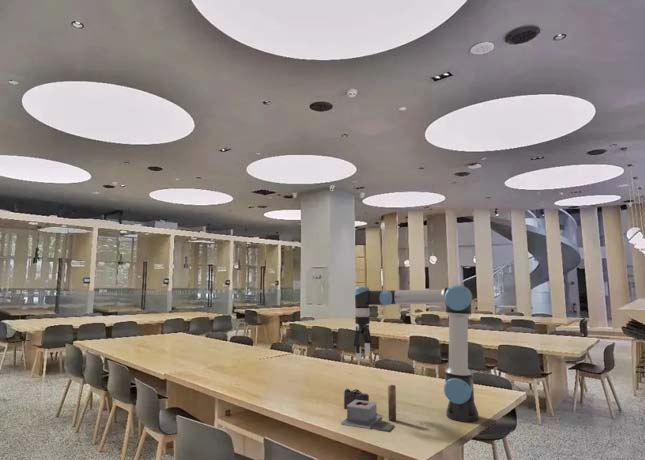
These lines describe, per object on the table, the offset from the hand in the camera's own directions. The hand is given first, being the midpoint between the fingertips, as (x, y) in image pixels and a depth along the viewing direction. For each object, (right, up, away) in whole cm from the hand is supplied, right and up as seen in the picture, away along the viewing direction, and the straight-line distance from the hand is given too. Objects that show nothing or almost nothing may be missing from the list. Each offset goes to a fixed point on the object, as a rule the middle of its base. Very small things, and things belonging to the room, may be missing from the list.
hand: (363, 357), depth 210 cm
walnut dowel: (+12, -25, -16) cm, 32 cm away
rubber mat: (+6, -23, -27) cm, 36 cm away
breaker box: (-2, -25, -17) cm, 30 cm away
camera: (-2, -28, +2) cm, 28 cm away
